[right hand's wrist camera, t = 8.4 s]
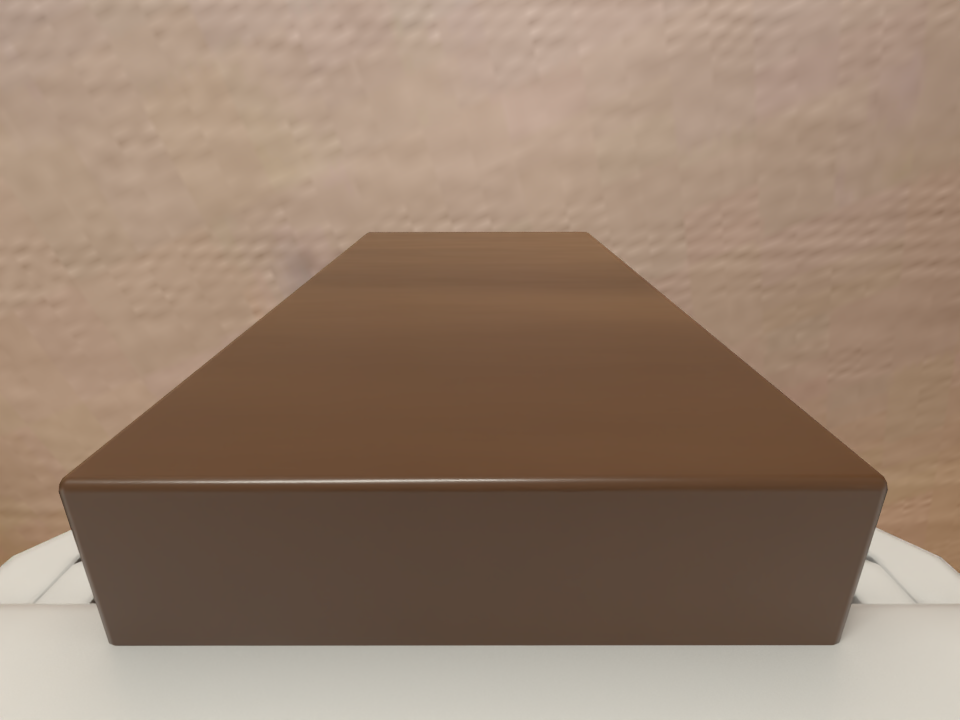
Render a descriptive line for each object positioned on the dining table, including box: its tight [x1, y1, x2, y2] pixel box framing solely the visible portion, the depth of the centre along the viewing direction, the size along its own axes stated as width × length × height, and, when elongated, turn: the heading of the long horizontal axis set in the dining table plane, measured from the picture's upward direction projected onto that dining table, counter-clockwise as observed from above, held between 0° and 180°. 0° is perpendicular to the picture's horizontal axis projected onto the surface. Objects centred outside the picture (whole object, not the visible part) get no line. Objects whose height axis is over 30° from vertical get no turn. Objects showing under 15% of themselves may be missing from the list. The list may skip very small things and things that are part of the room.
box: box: [59, 232, 888, 646], centre depth 13 cm, size 20×6×12 cm, turn 0°
